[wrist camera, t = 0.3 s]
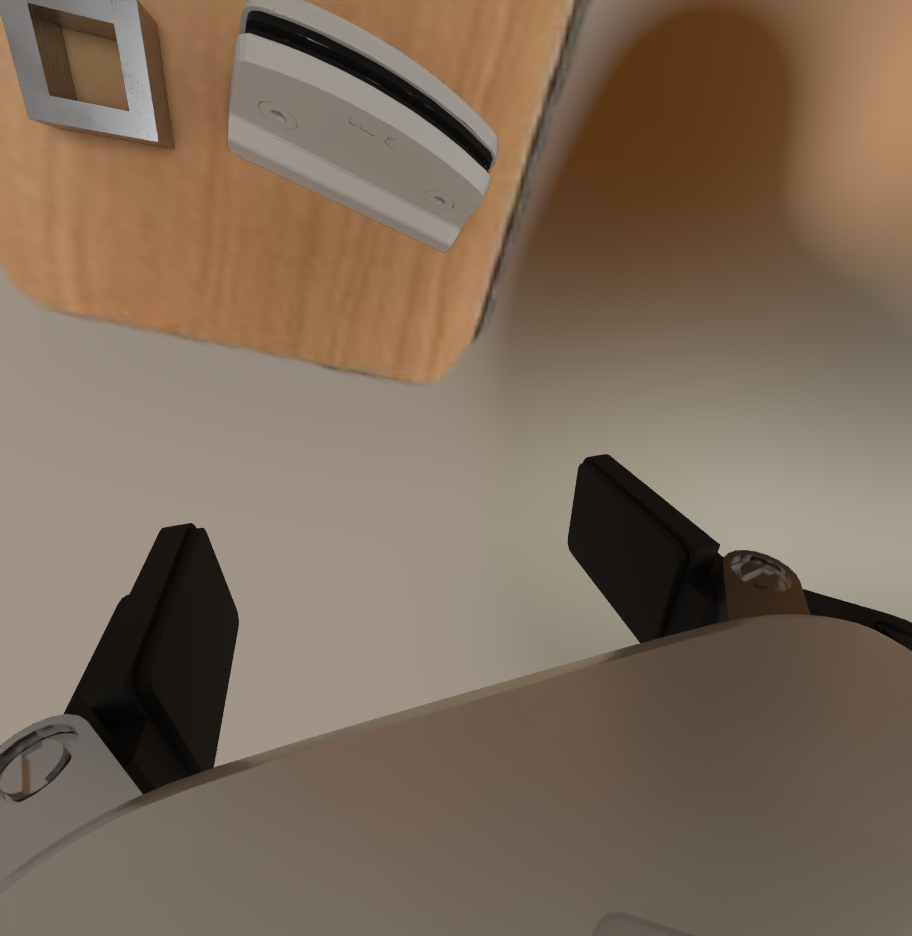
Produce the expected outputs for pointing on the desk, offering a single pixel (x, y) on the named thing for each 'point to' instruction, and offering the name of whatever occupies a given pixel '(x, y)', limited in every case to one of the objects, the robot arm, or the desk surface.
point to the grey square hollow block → (49, 77)
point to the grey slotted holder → (356, 121)
